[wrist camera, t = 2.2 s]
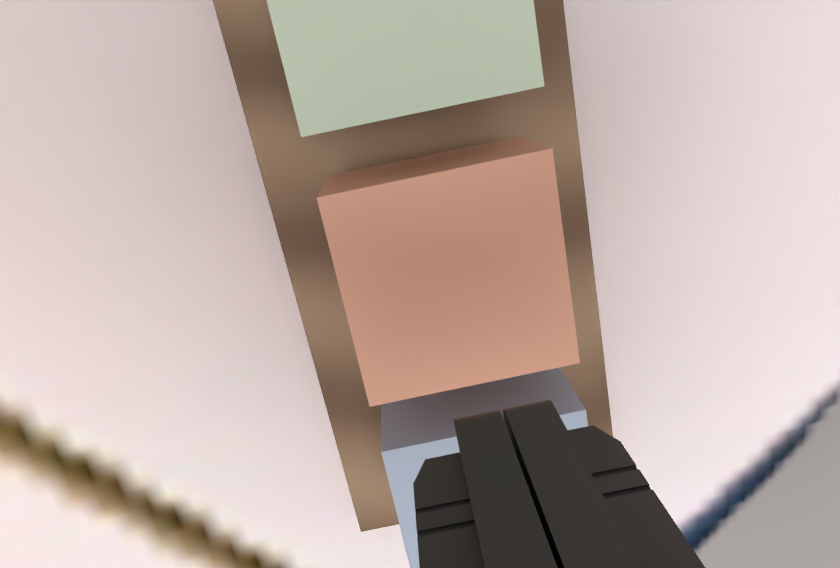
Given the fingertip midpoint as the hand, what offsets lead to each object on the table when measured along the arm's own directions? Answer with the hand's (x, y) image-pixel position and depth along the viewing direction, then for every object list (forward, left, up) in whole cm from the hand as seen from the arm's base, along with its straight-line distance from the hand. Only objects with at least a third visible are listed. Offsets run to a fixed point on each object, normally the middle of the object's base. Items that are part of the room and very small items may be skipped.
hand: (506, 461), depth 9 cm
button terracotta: (0, 0, -11) cm, 11 cm away
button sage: (-8, 0, -11) cm, 14 cm away
